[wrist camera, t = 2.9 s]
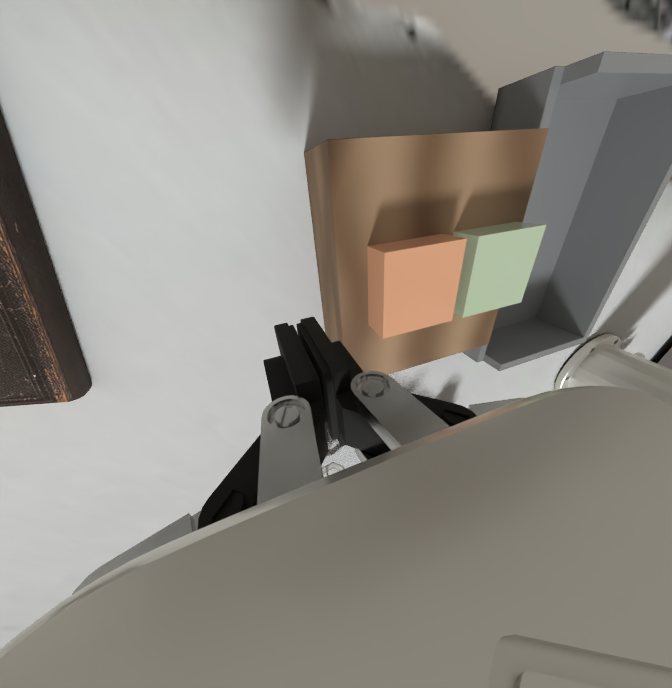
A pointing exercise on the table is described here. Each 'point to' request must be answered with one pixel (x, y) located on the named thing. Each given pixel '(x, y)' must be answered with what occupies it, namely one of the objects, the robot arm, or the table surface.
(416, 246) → the tile
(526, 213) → the box
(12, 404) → the hardcover book
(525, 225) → the tile
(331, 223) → the platform
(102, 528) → the table surface
